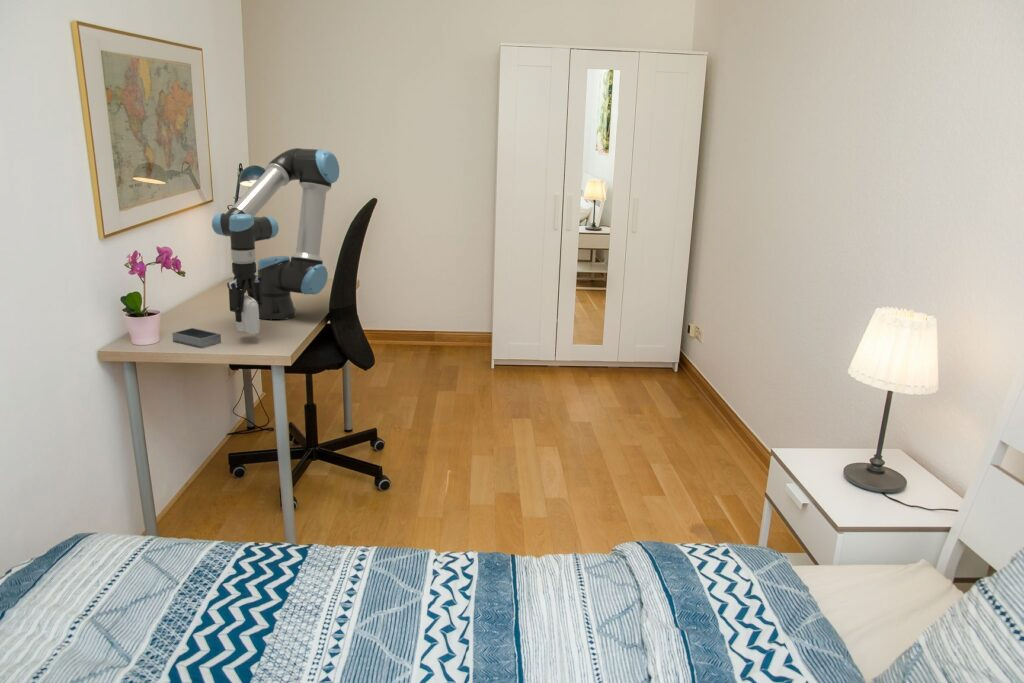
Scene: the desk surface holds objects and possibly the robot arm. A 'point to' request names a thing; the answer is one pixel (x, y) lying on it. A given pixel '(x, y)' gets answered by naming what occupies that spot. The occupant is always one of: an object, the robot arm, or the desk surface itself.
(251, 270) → the robot arm
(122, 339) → the desk surface
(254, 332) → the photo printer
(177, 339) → the grey rectangular tray
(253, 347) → the desk surface
